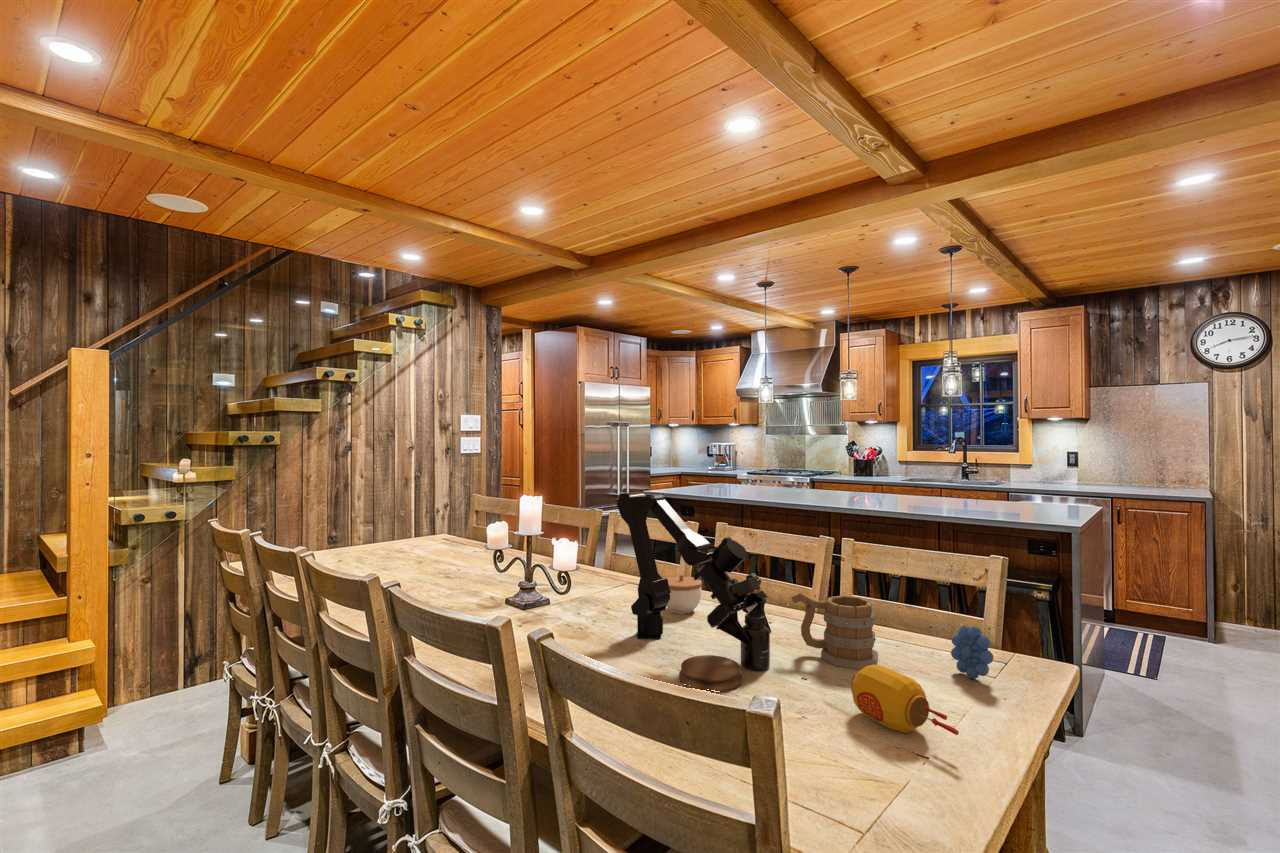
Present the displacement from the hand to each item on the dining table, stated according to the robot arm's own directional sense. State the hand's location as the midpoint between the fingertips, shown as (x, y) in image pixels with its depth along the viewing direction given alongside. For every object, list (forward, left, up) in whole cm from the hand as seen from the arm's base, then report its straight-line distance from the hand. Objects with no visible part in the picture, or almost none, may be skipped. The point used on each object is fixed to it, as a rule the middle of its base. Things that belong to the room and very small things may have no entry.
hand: (759, 638), depth 143 cm
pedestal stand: (-12, -7, -7) cm, 16 cm away
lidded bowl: (-18, +45, -7) cm, 49 cm away
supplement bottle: (-1, +1, -7) cm, 7 cm away
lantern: (+21, -26, -7) cm, 34 cm away
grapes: (+47, -4, -7) cm, 48 cm away
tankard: (+19, +8, -7) cm, 22 cm away
